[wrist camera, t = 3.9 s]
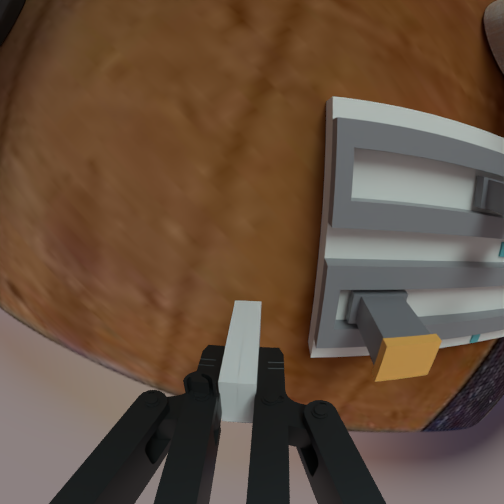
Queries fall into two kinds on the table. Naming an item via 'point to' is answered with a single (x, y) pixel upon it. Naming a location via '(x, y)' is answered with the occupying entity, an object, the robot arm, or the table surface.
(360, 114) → the console
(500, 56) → the planter
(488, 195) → the fader
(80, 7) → the table surface
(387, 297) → the fader
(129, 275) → the table surface
